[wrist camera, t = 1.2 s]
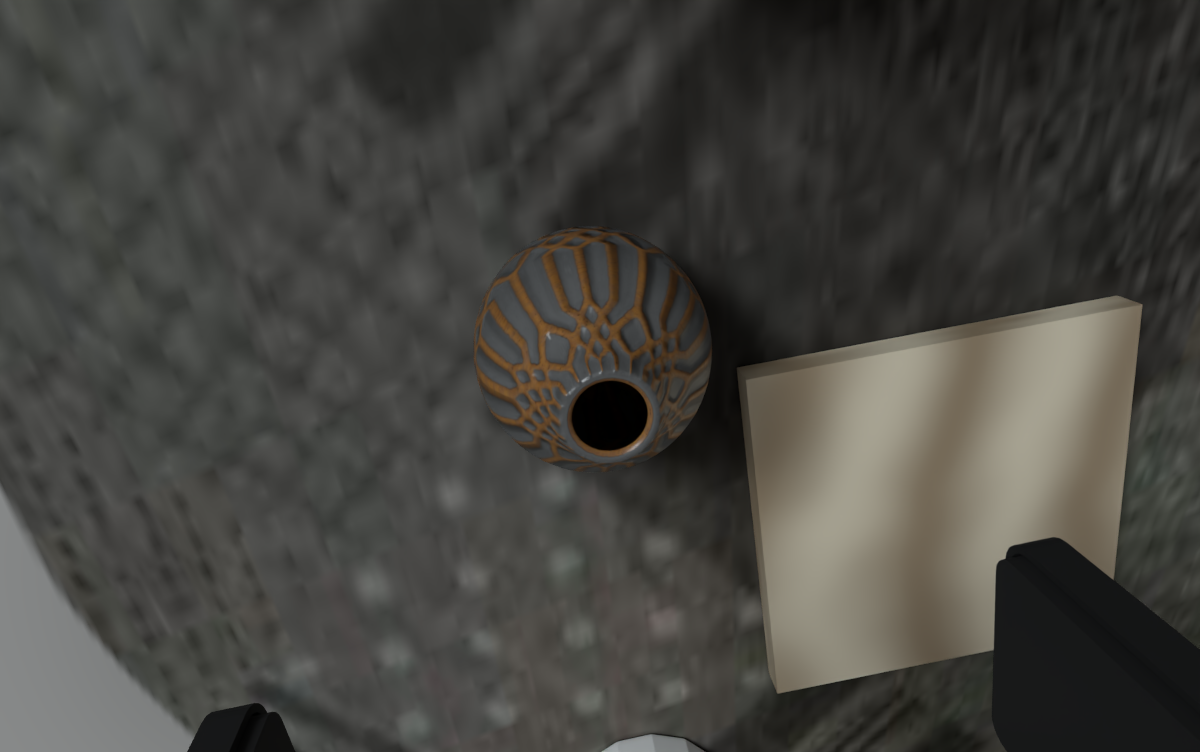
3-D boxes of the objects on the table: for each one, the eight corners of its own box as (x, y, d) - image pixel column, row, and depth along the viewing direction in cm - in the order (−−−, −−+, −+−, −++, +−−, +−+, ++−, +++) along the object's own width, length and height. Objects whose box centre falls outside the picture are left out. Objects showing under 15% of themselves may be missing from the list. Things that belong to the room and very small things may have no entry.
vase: (691, 391, 27) (763, 522, 19) (499, 420, 27) (488, 566, 19) (675, 196, 25) (749, 250, 16) (463, 226, 24) (431, 296, 16)
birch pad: (1116, 295, 27) (1142, 304, 26) (1088, 608, 32) (1108, 626, 31) (736, 367, 27) (745, 379, 26) (768, 672, 32) (777, 693, 31)
